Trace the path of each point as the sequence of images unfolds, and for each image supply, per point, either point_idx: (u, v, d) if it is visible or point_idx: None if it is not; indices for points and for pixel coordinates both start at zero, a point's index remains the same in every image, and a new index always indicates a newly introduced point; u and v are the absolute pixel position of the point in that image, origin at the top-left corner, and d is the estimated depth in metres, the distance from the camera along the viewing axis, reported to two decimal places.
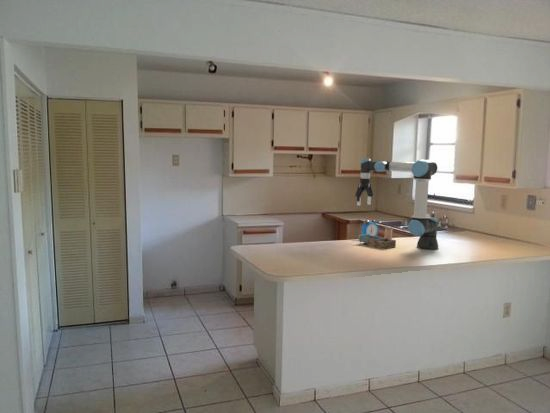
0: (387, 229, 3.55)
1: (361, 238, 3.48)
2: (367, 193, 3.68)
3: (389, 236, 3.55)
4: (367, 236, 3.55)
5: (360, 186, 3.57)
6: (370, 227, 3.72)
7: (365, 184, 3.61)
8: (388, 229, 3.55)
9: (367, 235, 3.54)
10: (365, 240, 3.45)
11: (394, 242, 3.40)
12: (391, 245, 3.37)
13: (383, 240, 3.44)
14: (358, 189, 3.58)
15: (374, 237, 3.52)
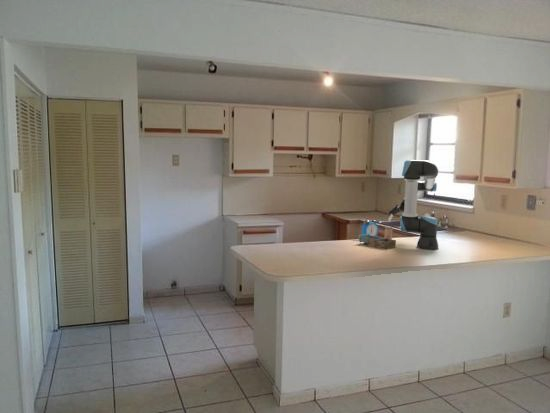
0: (387, 229, 3.55)
1: (361, 238, 3.48)
2: None
3: (389, 236, 3.55)
4: (367, 236, 3.55)
5: None
6: (370, 227, 3.72)
7: (403, 205, 3.71)
8: (388, 229, 3.55)
9: (367, 235, 3.54)
10: (365, 240, 3.45)
11: (394, 242, 3.40)
12: (391, 245, 3.37)
13: (383, 240, 3.44)
14: None
15: (374, 237, 3.52)
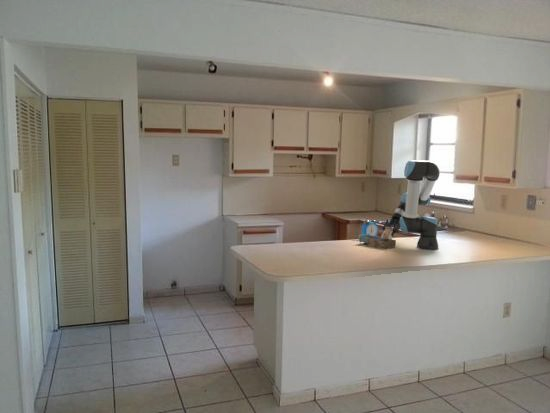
0: (387, 229, 3.55)
1: (361, 238, 3.48)
2: None
3: None
4: (367, 236, 3.55)
5: (386, 221, 3.66)
6: (370, 227, 3.72)
7: (394, 219, 3.63)
8: (388, 229, 3.55)
9: (367, 235, 3.54)
10: (365, 240, 3.45)
11: (394, 242, 3.40)
12: (391, 245, 3.37)
13: (383, 240, 3.44)
14: None
15: (374, 237, 3.52)
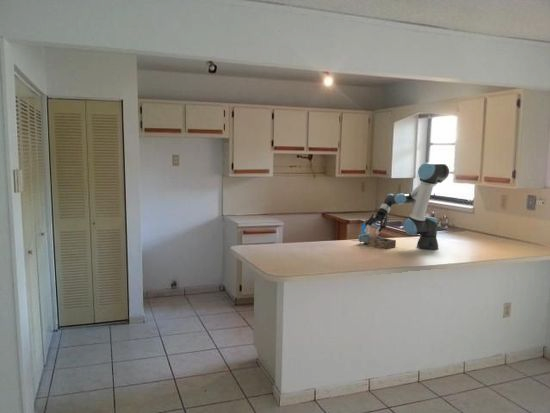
0: (372, 227, 3.44)
1: (361, 238, 3.48)
2: None
3: (374, 235, 3.44)
4: (367, 236, 3.55)
5: (371, 216, 3.55)
6: None
7: (379, 214, 3.51)
8: (373, 227, 3.44)
9: (367, 235, 3.55)
10: (365, 240, 3.45)
11: (394, 242, 3.40)
12: (391, 245, 3.37)
13: (383, 240, 3.44)
14: (370, 219, 3.55)
15: None
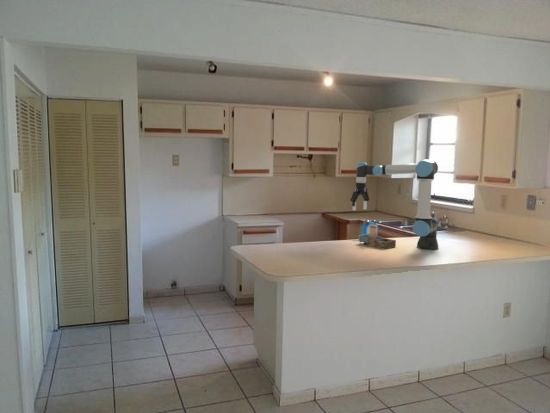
0: (372, 227, 3.44)
1: (361, 238, 3.48)
2: None
3: (374, 235, 3.44)
4: (367, 236, 3.55)
5: (355, 190, 3.49)
6: None
7: (361, 188, 3.53)
8: (373, 227, 3.44)
9: (367, 235, 3.55)
10: (365, 240, 3.45)
11: (394, 242, 3.40)
12: (391, 245, 3.37)
13: (383, 240, 3.44)
14: (353, 194, 3.49)
15: None
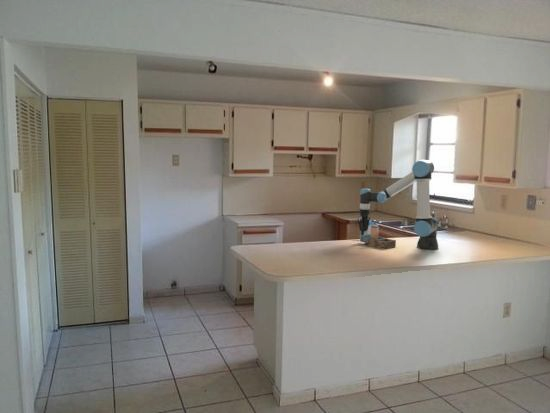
0: (373, 228, 3.43)
1: (362, 238, 3.47)
2: None
3: (375, 235, 3.43)
4: (368, 236, 3.54)
5: (360, 220, 3.47)
6: (370, 227, 3.72)
7: (365, 215, 3.50)
8: (374, 228, 3.43)
9: (368, 235, 3.54)
10: (366, 240, 3.44)
11: (394, 242, 3.40)
12: (391, 245, 3.37)
13: (384, 240, 3.43)
14: (360, 223, 3.49)
15: None
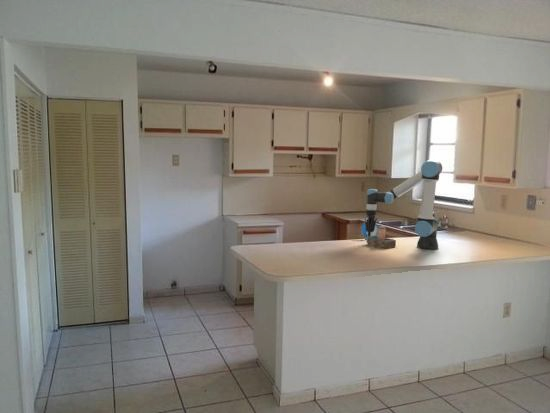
0: (380, 229, 3.39)
1: None
2: None
3: (382, 236, 3.39)
4: (375, 237, 3.49)
5: (367, 221, 3.43)
6: None
7: (371, 216, 3.46)
8: (381, 229, 3.38)
9: (375, 236, 3.49)
10: None
11: (394, 242, 3.40)
12: (391, 245, 3.37)
13: None
14: (366, 224, 3.45)
15: None
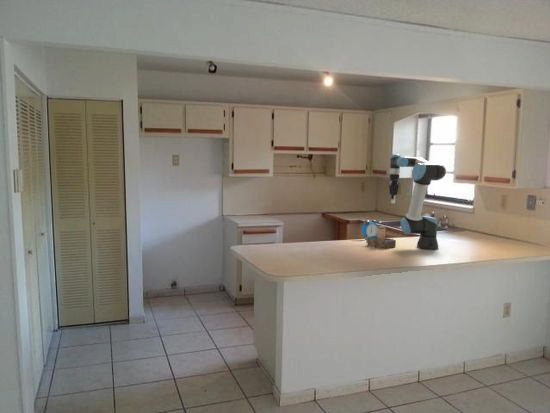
0: (380, 229, 3.39)
1: None
2: None
3: (382, 236, 3.39)
4: (375, 237, 3.50)
5: (391, 184, 3.63)
6: (370, 227, 3.72)
7: (395, 180, 3.66)
8: (381, 229, 3.38)
9: (375, 236, 3.49)
10: None
11: (394, 242, 3.40)
12: (391, 245, 3.37)
13: None
14: (390, 187, 3.65)
15: None
